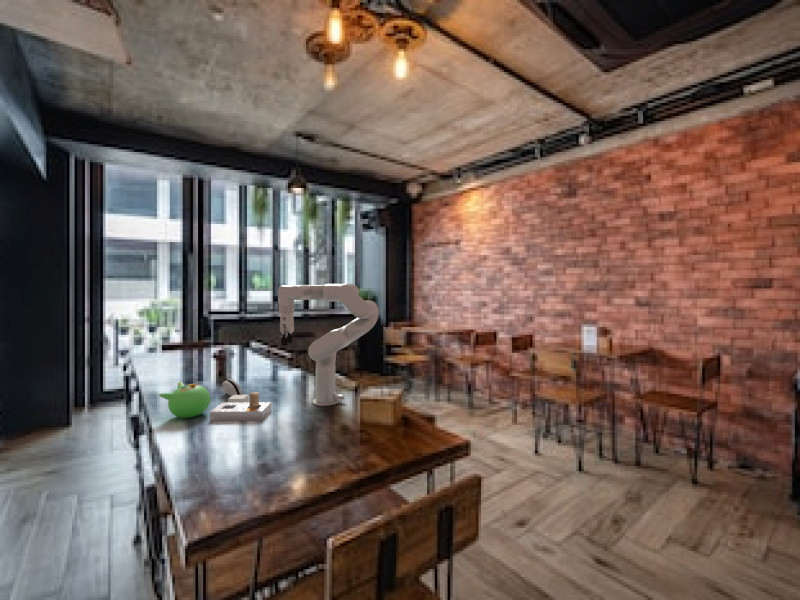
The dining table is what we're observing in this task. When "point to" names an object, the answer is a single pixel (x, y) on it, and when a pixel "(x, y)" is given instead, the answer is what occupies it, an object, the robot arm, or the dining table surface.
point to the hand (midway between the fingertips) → (286, 344)
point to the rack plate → (240, 412)
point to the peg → (254, 400)
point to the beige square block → (238, 398)
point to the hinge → (232, 387)
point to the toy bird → (187, 400)
